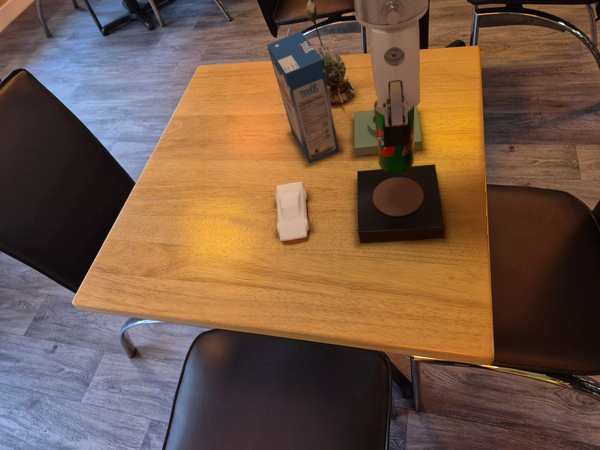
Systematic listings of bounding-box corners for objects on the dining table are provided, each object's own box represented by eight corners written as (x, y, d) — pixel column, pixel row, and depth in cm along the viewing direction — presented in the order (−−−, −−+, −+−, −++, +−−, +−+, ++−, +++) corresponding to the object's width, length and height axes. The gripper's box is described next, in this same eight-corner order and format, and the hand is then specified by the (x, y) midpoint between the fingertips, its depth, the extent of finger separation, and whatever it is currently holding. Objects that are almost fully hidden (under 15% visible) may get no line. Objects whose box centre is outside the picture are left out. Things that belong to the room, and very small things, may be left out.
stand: (434, 176, 76) (435, 162, 73) (443, 238, 68) (445, 226, 66) (358, 182, 78) (356, 169, 76) (359, 243, 71) (357, 231, 68)
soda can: (411, 177, 62) (411, 111, 53) (376, 174, 64) (370, 110, 55) (416, 151, 65) (416, 84, 56) (382, 150, 67) (377, 84, 57)
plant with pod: (317, 114, 91) (297, 24, 76) (318, 80, 98) (300, -9, 82) (356, 109, 90) (344, 16, 74) (354, 75, 97) (343, -17, 81)
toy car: (279, 246, 74) (274, 235, 71) (277, 192, 81) (273, 180, 78) (311, 241, 73) (307, 229, 70) (306, 187, 80) (303, 175, 77)
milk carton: (339, 151, 84) (322, 59, 68) (309, 163, 83) (285, 74, 68) (319, 121, 90) (300, 30, 74) (292, 133, 90) (266, 44, 74)
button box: (416, 113, 86) (417, 97, 82) (421, 150, 80) (422, 133, 77) (355, 120, 88) (353, 104, 85) (355, 156, 82) (353, 140, 79)
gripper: (438, 37, 39) (430, 173, 54) (420, -48, 49) (418, 86, 64) (354, 49, 41) (369, 179, 55) (353, -36, 51) (366, 92, 65)
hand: (395, 128), depth 59 cm, fingers closed on soda can, 5 cm apart
